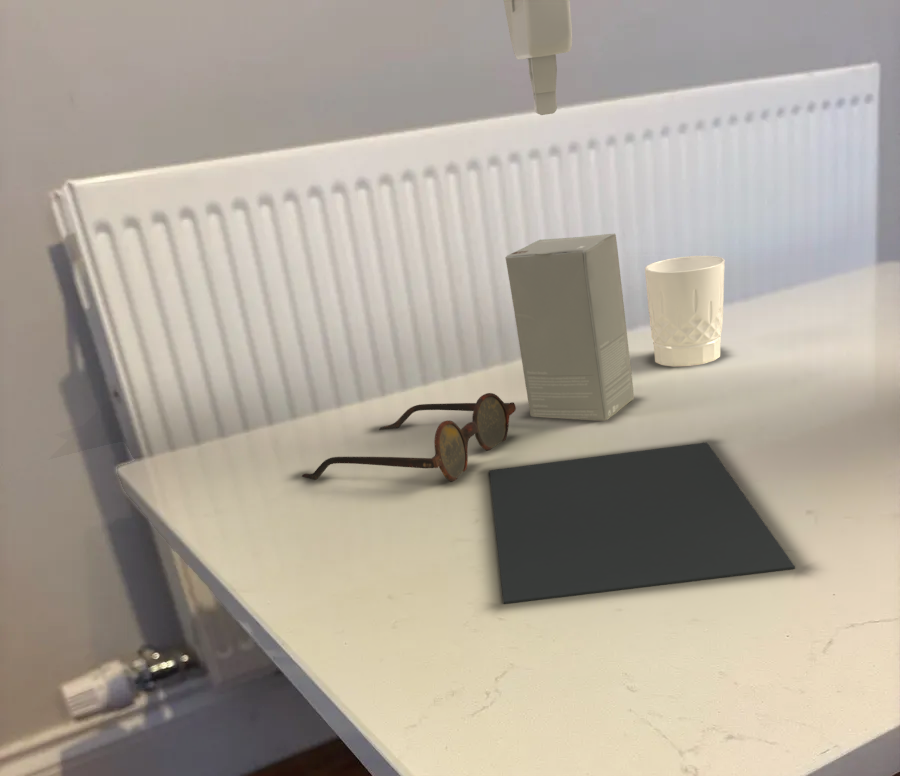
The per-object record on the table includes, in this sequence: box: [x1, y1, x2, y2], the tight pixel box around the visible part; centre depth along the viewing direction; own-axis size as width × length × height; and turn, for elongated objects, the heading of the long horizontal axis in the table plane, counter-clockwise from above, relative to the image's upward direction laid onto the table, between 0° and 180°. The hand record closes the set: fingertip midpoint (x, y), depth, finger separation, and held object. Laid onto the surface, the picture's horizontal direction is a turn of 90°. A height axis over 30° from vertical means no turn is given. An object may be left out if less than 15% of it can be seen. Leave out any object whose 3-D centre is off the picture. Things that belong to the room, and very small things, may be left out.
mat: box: [489, 442, 796, 605], centre depth 74 cm, size 18×24×1 cm
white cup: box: [644, 255, 726, 367], centre depth 106 cm, size 8×8×10 cm
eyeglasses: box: [301, 392, 517, 482], centre depth 91 cm, size 15×15×5 cm
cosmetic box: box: [505, 233, 635, 422], centre depth 94 cm, size 8×7×16 cm
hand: (545, 114), depth 93 cm, fingers closed
